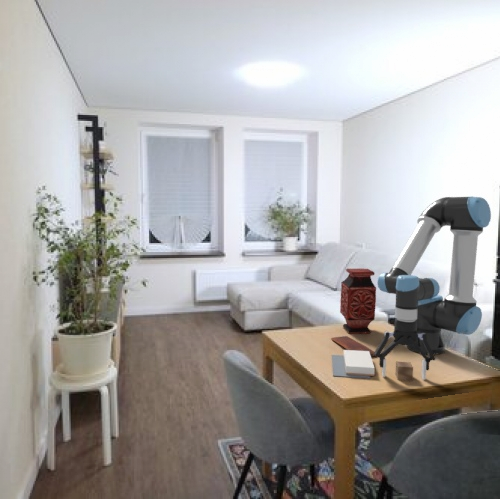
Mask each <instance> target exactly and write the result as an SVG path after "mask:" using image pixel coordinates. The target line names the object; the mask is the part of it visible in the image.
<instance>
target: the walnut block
mask: <svg viewBox="0 0 500 499" xmlns="http://www.w3.org/2000/svg"><path fill="white" fill-rule="evenodd" d="M395 376H396V379H397V381H410V382H413V380H414V379H413V377H414V366H413V365H412V363H411V362H409V361H396V362H395Z"/></svg>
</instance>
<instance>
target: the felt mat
mask: <svg viewBox="0 0 500 499" xmlns="http://www.w3.org/2000/svg"><path fill="white" fill-rule="evenodd" d="M331 363H332V364H331V365H332V366H331V367H332V377H339V378H355V379H371V376H368V375H351V374H346V372H345V365H344V358H343V354H341V355H340V354H331Z"/></svg>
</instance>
